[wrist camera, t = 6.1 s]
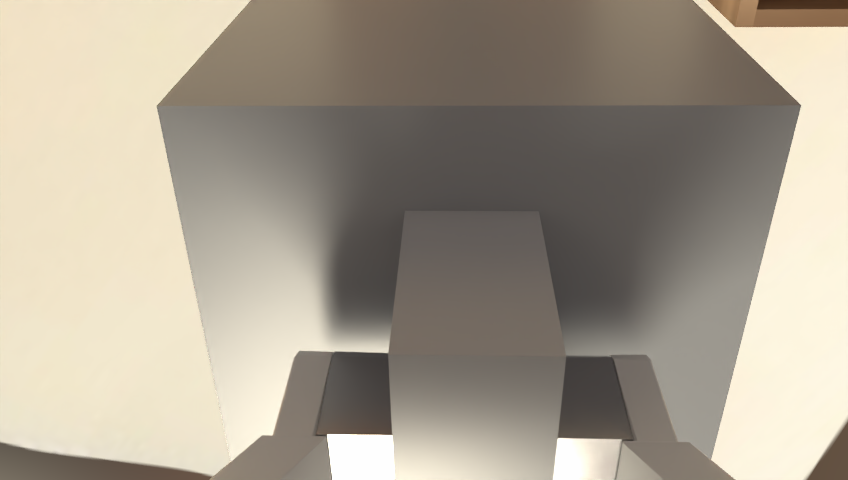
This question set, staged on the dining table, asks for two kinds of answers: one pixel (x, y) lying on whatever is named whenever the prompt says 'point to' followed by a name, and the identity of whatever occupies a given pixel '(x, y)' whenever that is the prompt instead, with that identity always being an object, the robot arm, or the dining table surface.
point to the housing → (475, 210)
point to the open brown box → (784, 13)
